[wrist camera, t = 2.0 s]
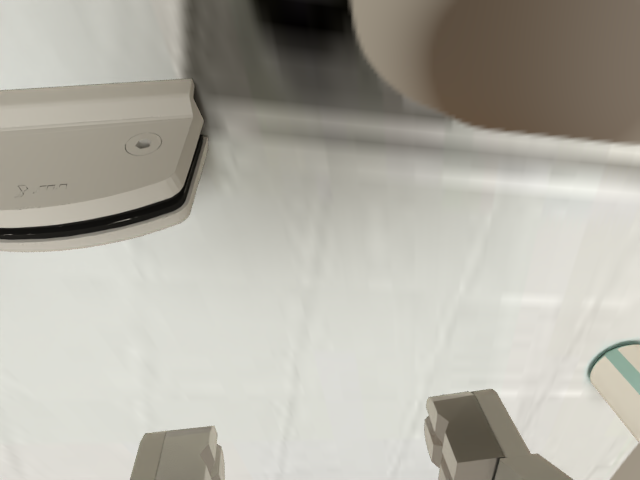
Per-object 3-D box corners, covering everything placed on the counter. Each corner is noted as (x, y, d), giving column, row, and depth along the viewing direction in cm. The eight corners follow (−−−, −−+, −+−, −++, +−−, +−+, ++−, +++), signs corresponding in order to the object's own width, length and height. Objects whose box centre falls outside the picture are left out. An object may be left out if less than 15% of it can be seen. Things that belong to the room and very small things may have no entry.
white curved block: (197, 77, 28) (185, 184, 22) (212, 136, 32) (204, 241, 26) (-71, 94, 27) (-163, 211, 21) (-24, 153, 31) (-91, 267, 25)
